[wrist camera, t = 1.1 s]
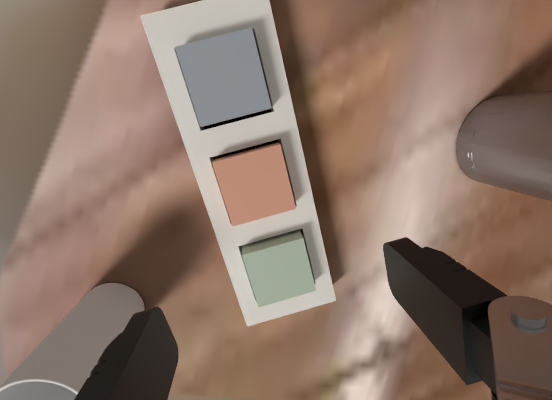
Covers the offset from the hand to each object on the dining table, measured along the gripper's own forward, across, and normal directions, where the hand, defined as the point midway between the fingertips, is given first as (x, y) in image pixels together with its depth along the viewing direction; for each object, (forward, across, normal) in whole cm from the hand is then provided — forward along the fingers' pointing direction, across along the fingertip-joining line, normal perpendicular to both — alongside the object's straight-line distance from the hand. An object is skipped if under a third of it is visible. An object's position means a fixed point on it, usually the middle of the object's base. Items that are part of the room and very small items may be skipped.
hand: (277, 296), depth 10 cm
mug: (+20, +20, +10) cm, 30 cm away
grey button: (+18, 0, -9) cm, 20 cm away
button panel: (+20, 0, 0) cm, 20 cm away
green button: (+18, 0, +9) cm, 20 cm away
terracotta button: (+18, 0, 0) cm, 18 cm away
